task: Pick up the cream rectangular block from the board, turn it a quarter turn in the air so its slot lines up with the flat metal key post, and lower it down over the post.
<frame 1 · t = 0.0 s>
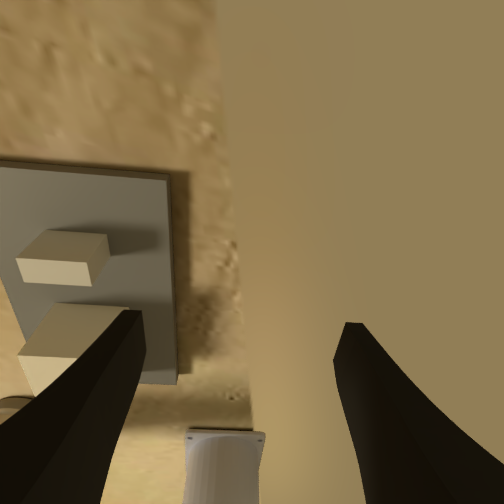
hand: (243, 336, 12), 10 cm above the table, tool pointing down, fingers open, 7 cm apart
travel mug: (27, 412, 32), on the table
board: (96, 290, 24), on the table
cream rectangular block: (100, 340, 25), point 1 cm above the table, touching board
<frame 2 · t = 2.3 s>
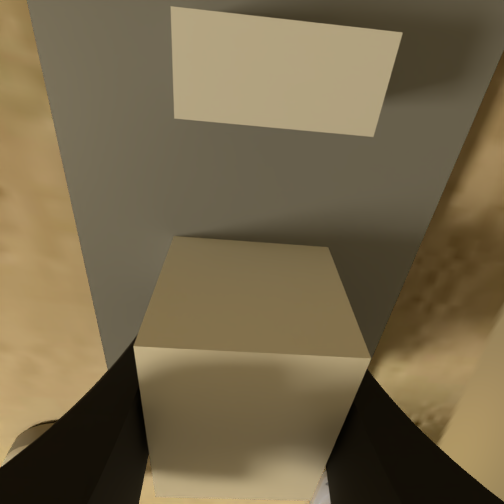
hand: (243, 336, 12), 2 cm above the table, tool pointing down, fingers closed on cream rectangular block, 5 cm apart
travel mug: (75, 445, 20), on the table
board: (253, 213, 11), on the table
cream rectangular block: (243, 320, 13), point 1 cm above the table, touching board, gripper
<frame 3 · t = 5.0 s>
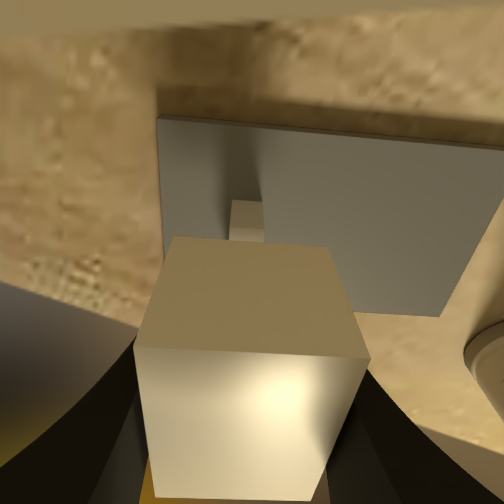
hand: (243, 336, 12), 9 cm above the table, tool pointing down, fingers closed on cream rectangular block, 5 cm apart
travel mug: (501, 344, 26), on the table
board: (320, 227, 20), on the table
cream rectangular block: (243, 320, 13), point 8 cm above the table, touching gripper
when the fingers open (3 cm above the table, at t = 7.6 s): cream rectangular block drops 1 cm, resting on board.
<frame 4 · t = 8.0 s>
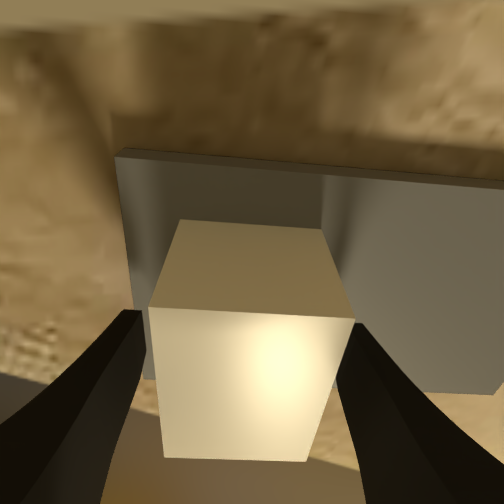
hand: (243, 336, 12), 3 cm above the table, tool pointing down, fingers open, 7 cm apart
board: (345, 290, 15), on the table
cream rectangular block: (244, 299, 14), point 1 cm above the table, touching board
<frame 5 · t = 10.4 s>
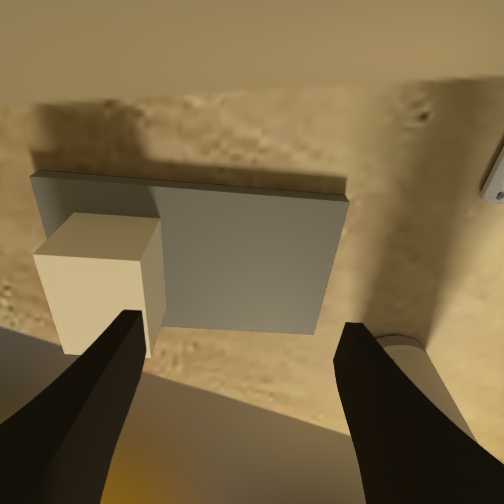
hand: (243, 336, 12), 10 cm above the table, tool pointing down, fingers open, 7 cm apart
travel mug: (383, 357, 29), on the table
board: (196, 259, 23), on the table
cream rectangular block: (124, 263, 22), point 1 cm above the table, touching board
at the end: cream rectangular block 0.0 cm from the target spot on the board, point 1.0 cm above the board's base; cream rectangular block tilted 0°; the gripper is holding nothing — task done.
